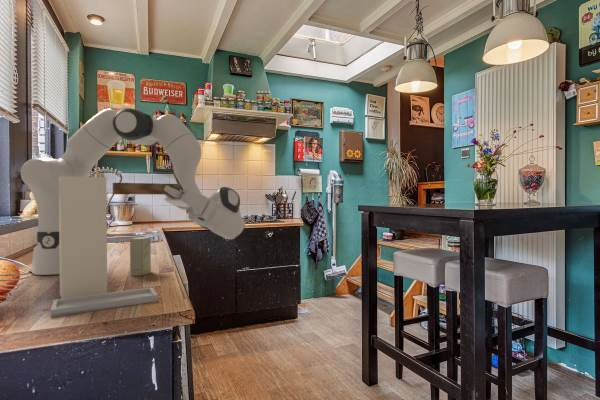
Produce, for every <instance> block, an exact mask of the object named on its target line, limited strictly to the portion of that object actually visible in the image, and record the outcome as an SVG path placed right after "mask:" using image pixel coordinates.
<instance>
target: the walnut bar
mask: <svg viewBox="0 0 600 400" xmlns="http://www.w3.org/2000/svg"><path fill="white" fill-rule="evenodd" d="M166 185H168V186H169V187H171V188H174V189H176V190H179V191H181V189H180V184H178V183H152V182H151V183H149V182H148V183H147V182H145V183H144V182H141V183H140V182H113V183H112V195H164V194H169V193H166V192H165V191H163V188H164V186H166Z"/></svg>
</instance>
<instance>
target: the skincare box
mask: <svg viewBox="0 0 600 400" xmlns="http://www.w3.org/2000/svg"><path fill="white" fill-rule="evenodd" d="M151 249H152V247H151V237H150V236H141V237H140V236H139V237H138V236H137V237H133V238H130V239H129V250H130V251H129V256H130V257H129V258H130V259H129V260H130V261H129V262H130V263H129V266H130V267H129V268H130V269H129V271H130V275H129V276H139V277H140V276H145V275H147V274H150V273H152V265H151V264H152V261H151V260H152V259H151V257H152V255H151V254H152V251H151Z"/></svg>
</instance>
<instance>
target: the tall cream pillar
mask: <svg viewBox="0 0 600 400" xmlns="http://www.w3.org/2000/svg"><path fill="white" fill-rule="evenodd" d="M107 204H108V203H107V177H105V176H102V177H99V176H97V177H96V176H89V177H69V176H60V177H59V255H60V274H59V296H60V299H65V298H73V297H80V296H88V295H96V294H104V293H108V229H107V227H108V226H107V225H108V224H107V223H108V222H107V221H108V220H107V219H108V218H107V217H108V216H107V215H108V213H107V212H108V210H107V207H108V206H107Z"/></svg>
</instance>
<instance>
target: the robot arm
mask: <svg viewBox="0 0 600 400" xmlns="http://www.w3.org/2000/svg"><path fill="white" fill-rule="evenodd" d="M120 140H125V141H128V142H130V143H131V144H135V145H140V146H142V147H147V148H151V147H154V146H156V145H160V146H161V147H162V148H163V150H164V151H165V152H166V154H167V155H168V156H169V160H170V162H171V164H172V165H171V166H172V168H173V169H172V170H173V176H174V179H175V181H176V184H180V191H179V190H176V189H174V188H171V187H169V186H168V185H166V186H164V188H163V191H165V192H166V193H169V194H163V196H165V197H164V201H165V202H166V203H168V204H171V205H172V206H174V207H176V208H178V209H180V210H182V211H185V213H186V214H187V218H188V220H190V221H191V222H193V223H196V224H197V225H198V226H199V227H200V228H203V229H205V230H207V231H208V230H210V231H211V232H212V233H214V234H216V235H218V236H219V237H222V238H224V239H228V240H235V239H236V238H237V237H238V236H240V235H241V234H242V233H243V231H244V230H245V227H246V222H245V220H244V218H243V217H242V214H241V209H240V206H241V198H240V195H239V194H238V192H237V191H236V190H234V189H233V188H231V187H228V186H221V187H220V188H218V189H217V190H216V191H215V192H214V193H213V194H211V195H210V197H208V196H205V195H203V194H202V191H201V190H200V188H199V186H198V185H197V183H196V177H195V176H196V172H197V168H198V166H199V163H200V162H201V158H202V147H201V144H200V143H199V141H198V139H197V138H196V137H195V136H194V134H193V132H192V131H191V130H190V129H189V128H188V127H187V125H185V123H184V122H183V121H182V120H181V119H180V118H179V117H178V116H177V115H174V114H171V113H167V114H163V115H161V116H158V118H153V117H152V115H150V114H148V113H146V112H143V111H141V110H139V109H136V108H131V107H130V108H129V107H127V108H122V109H120V110H115V109H113V108H105V109H103V110H101V111H99V112H98V113H96V114H95V115H93V116H92V117H91V118H89V119H88V120H87V121H86V122H85V123H84V124H83V125H82V126H81V127H80V128H78V129H77V131H76V132H75V133H73V135H71V136H70V137H69V138H68V139H67V141H66V146H67V147H66V150H65V152H64V154H63V155H62V156H60V157H59V158H52V157H36V158H31V159H28V160H27V161H25V162H24V164H22V166H21V168H20V178H21V180H22V181H23V183H24V184H25V185H26V186H27V187H28V188H29V189H30V191H31V193H32V196H33V199H34V201H35V204H36V208H37V221H38V222H37V224H38V226H37V228H38V231H37V232H36V242H37V245H35V247H34V248H33V253H32V262H31V269H32V275H36V276H37V275H38V276H53V275H60V255H59V177H60V176H69V177H90V173H91V171H92V169H93V168H94V166H95V165H96V164H97V163H98V161H99V160H100V159H102V157H103V156H105V154H107V152H109V151H110V150H111V149H112V148H113V147H114V146H115V145H116V144H117V143H118V142H119V141H120Z"/></svg>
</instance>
